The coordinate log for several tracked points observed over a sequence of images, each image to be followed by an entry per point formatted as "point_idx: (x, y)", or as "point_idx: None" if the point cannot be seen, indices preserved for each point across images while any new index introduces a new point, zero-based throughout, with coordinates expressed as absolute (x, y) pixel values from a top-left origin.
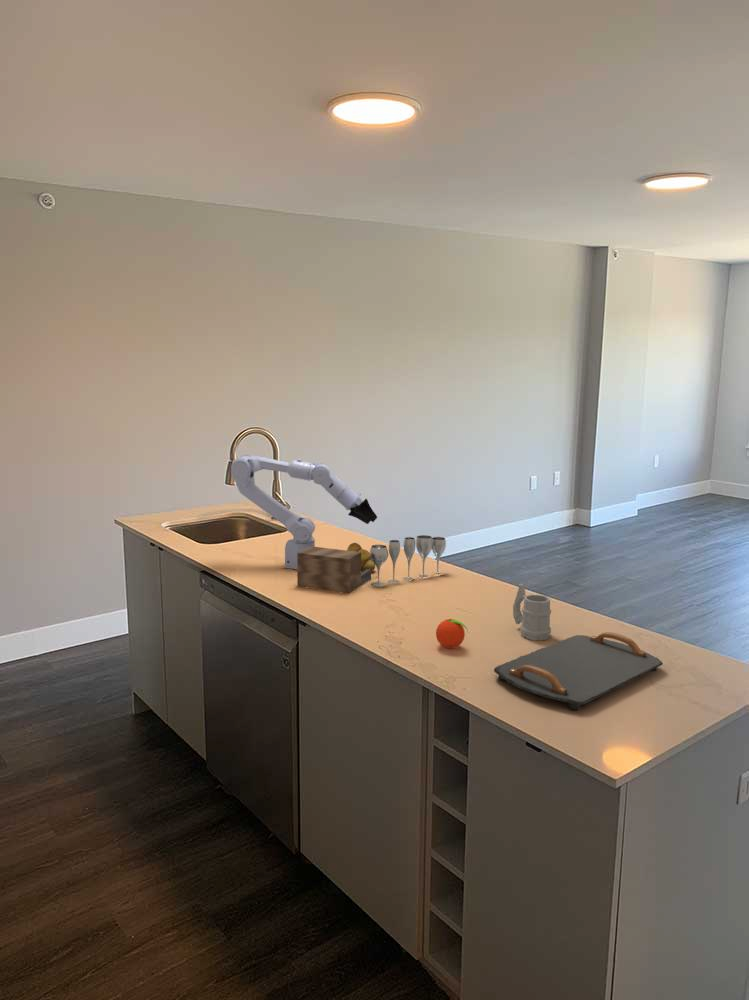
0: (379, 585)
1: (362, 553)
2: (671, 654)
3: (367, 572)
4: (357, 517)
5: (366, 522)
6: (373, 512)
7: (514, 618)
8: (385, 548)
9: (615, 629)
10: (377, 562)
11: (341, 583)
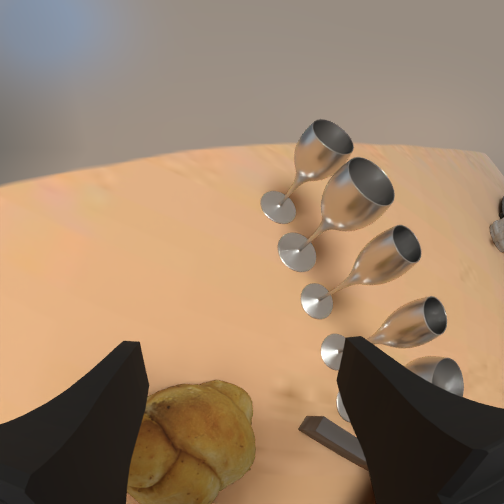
0: None
1: (246, 441)
2: (489, 173)
3: (346, 431)
4: (125, 482)
5: (144, 397)
6: (395, 365)
7: (499, 240)
8: (455, 364)
9: (465, 164)
10: None
11: None
